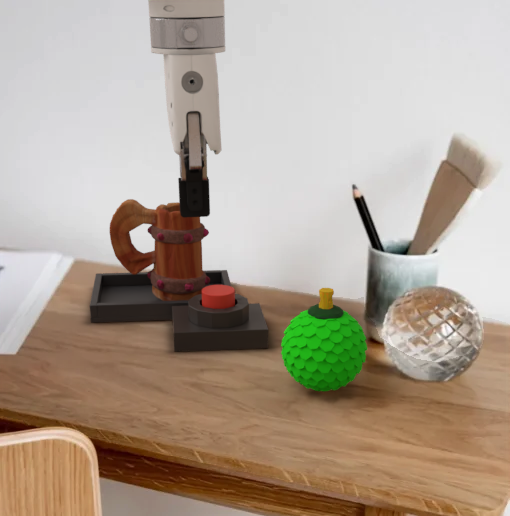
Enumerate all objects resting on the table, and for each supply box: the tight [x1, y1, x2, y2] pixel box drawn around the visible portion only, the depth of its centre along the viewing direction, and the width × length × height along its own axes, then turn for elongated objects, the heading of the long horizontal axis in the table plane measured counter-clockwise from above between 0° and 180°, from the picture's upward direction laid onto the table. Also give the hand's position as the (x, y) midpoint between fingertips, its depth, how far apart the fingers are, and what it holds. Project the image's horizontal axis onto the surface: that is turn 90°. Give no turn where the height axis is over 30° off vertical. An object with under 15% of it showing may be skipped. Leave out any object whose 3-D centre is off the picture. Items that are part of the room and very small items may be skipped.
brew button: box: [202, 285, 236, 309], centre depth 91 cm, size 4×4×2 cm
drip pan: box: [89, 269, 232, 323], centre depth 102 cm, size 17×12×2 cm
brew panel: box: [172, 293, 269, 353], centre depth 92 cm, size 10×8×4 cm
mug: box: [109, 198, 210, 301], centre depth 100 cm, size 12×6×12 cm, turn 86°
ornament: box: [280, 287, 368, 392], centre depth 79 cm, size 8×8×10 cm
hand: (194, 214), depth 92 cm, fingers closed
